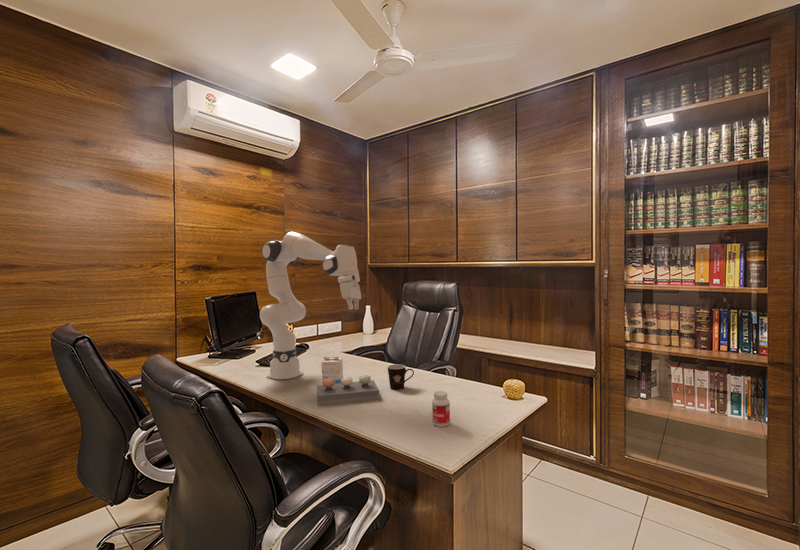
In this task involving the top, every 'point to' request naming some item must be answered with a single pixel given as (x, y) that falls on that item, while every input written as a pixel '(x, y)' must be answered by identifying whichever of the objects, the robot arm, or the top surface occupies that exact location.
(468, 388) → the top surface
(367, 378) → the sage button
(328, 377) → the ink box
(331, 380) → the terracotta button
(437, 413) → the pill bottle
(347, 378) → the cream button
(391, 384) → the coffee mug
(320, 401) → the console
